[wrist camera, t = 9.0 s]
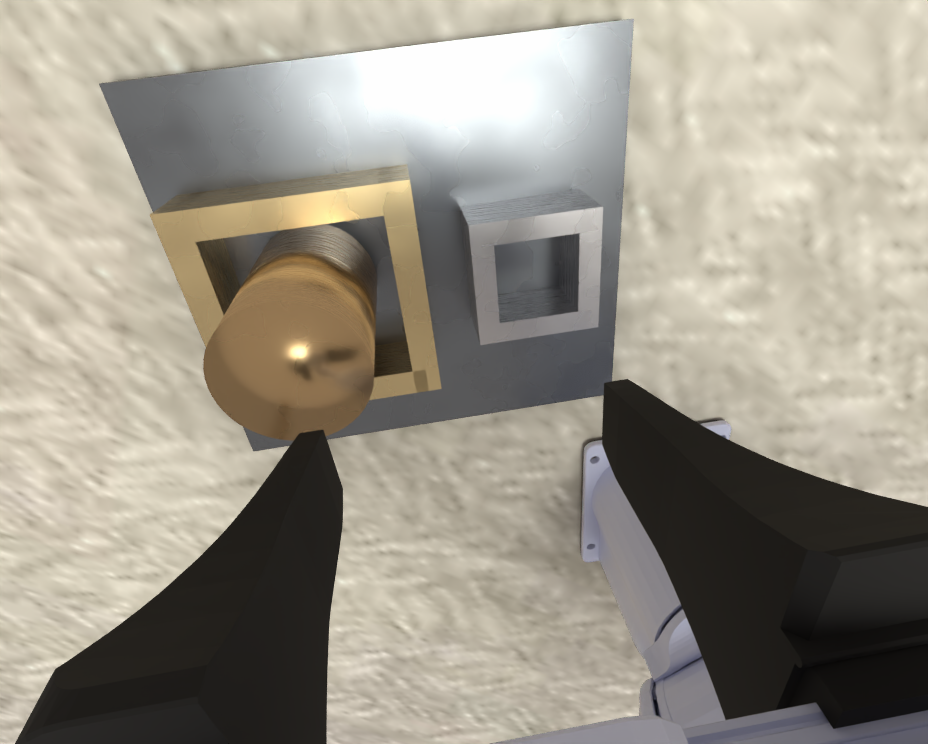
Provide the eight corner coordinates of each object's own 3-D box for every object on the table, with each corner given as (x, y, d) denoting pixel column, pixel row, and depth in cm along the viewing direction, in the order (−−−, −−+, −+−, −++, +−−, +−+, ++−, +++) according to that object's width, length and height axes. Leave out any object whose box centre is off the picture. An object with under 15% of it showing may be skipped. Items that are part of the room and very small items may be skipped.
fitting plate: (603, 382, 26) (631, 425, 23) (257, 437, 25) (241, 489, 22) (622, 19, 18) (668, 15, 15) (113, 81, 17) (56, 89, 14)
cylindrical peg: (385, 325, 22) (385, 429, 16) (275, 338, 21) (233, 450, 16) (367, 216, 19) (358, 291, 13) (242, 229, 19) (178, 313, 13)
